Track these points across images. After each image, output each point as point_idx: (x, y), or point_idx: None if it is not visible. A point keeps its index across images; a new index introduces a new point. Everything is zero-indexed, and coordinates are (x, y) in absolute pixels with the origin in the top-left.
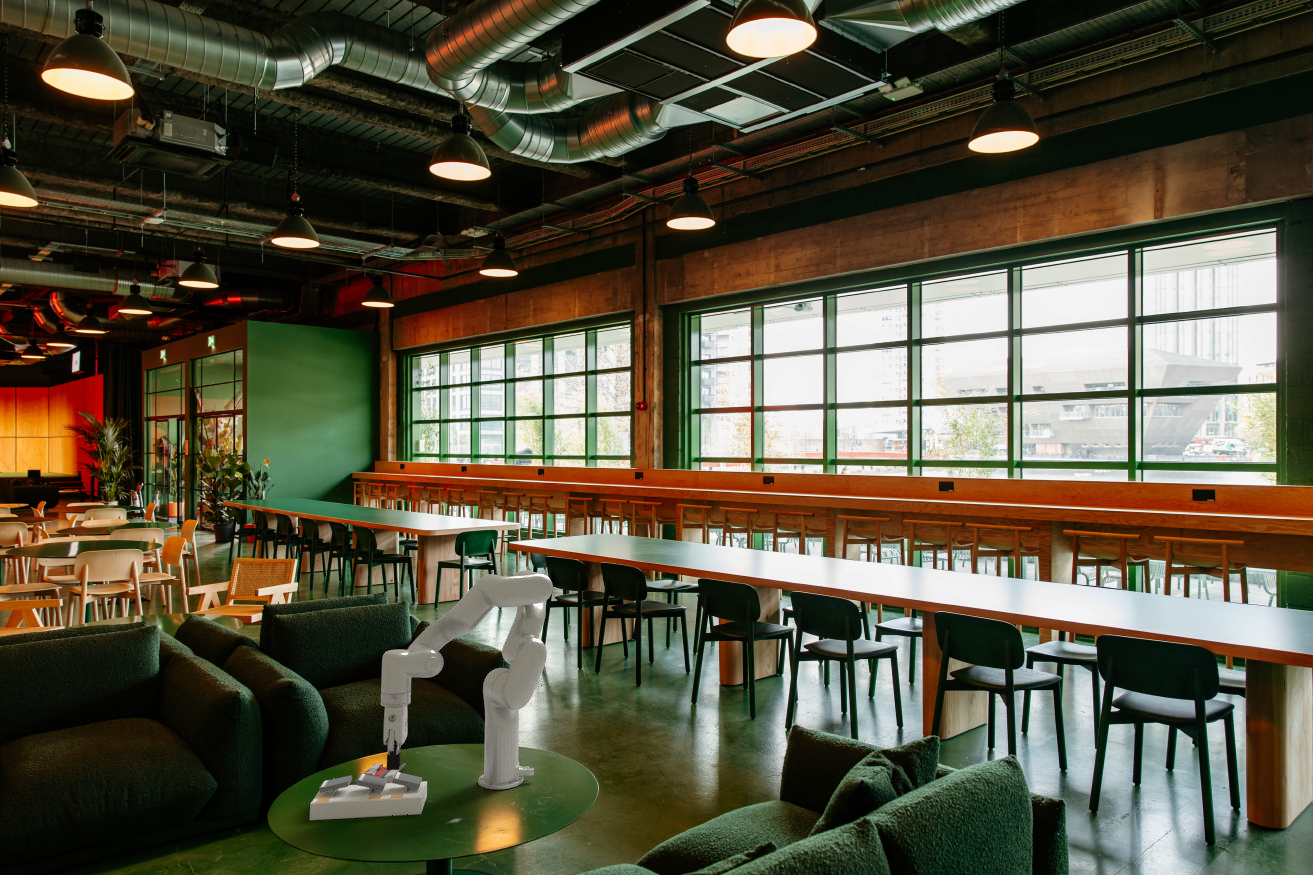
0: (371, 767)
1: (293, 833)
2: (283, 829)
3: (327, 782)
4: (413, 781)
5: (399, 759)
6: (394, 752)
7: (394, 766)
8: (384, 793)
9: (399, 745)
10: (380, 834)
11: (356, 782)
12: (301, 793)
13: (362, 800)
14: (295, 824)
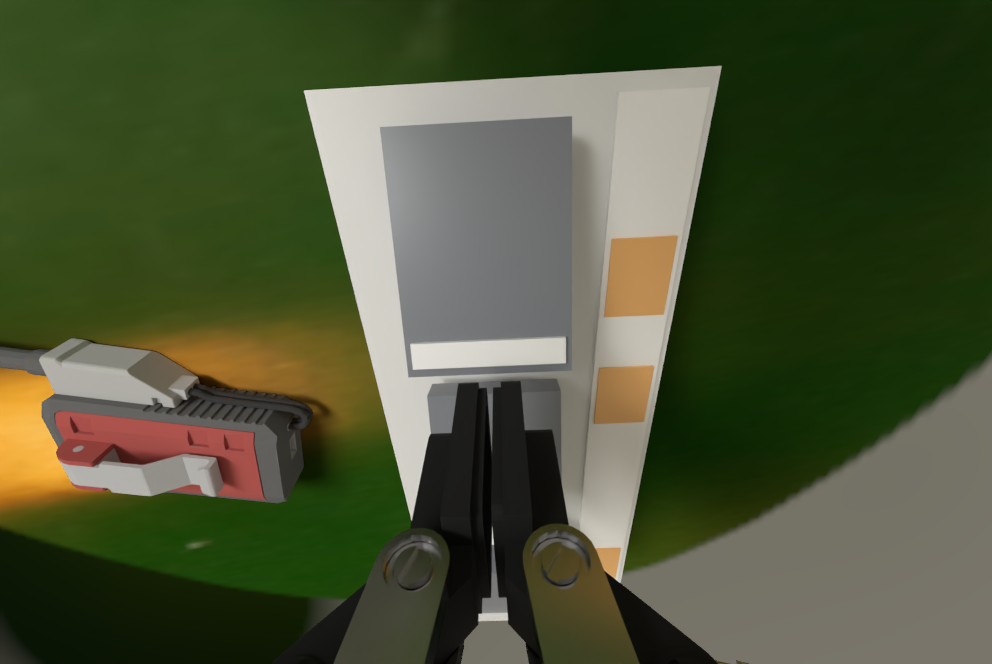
0: (140, 490)
1: (709, 535)
2: (663, 560)
3: (494, 610)
4: (537, 193)
5: (526, 449)
6: (636, 604)
7: (552, 434)
8: None
9: (428, 644)
10: (885, 262)
11: (289, 491)
12: (360, 585)
13: (642, 437)
14: (632, 546)
